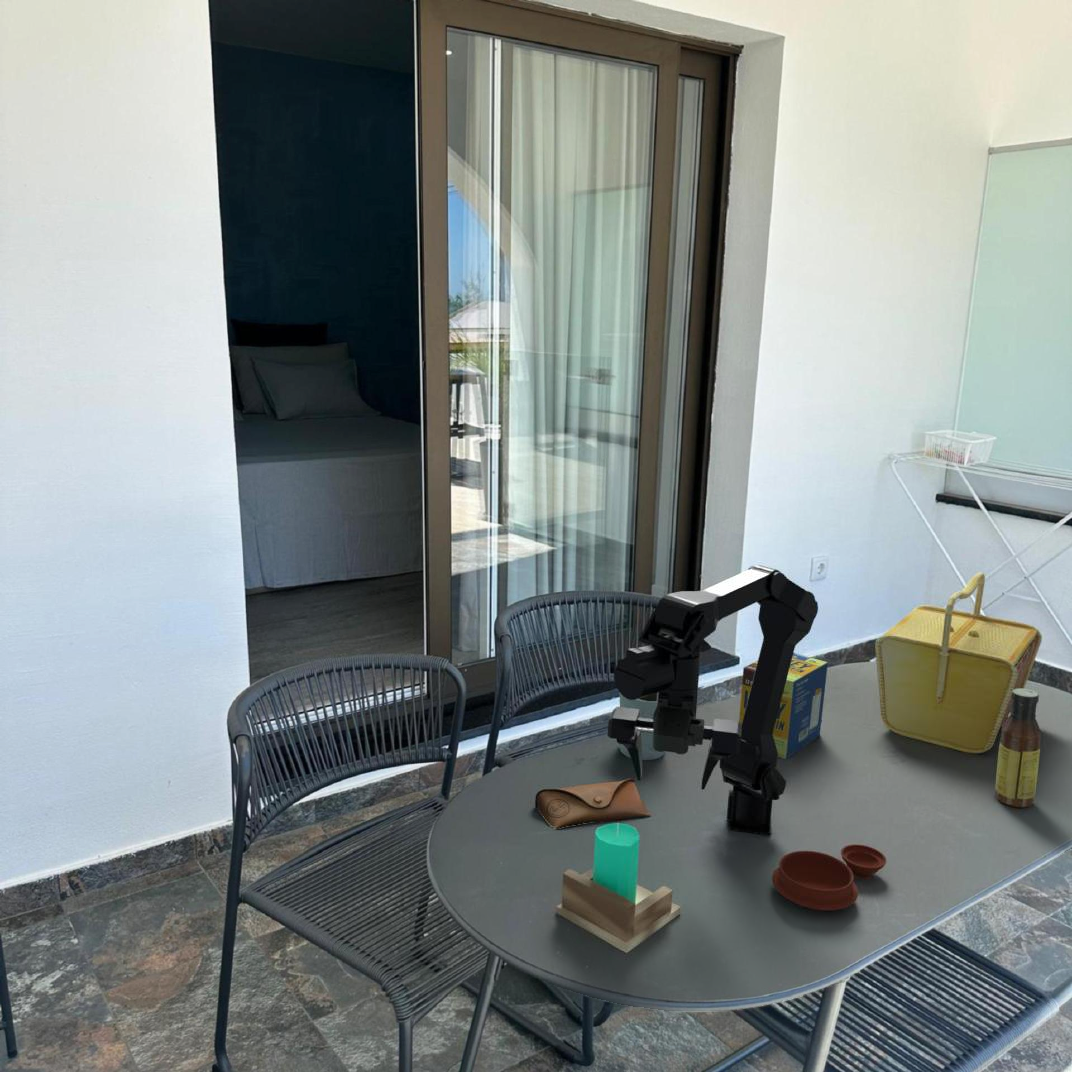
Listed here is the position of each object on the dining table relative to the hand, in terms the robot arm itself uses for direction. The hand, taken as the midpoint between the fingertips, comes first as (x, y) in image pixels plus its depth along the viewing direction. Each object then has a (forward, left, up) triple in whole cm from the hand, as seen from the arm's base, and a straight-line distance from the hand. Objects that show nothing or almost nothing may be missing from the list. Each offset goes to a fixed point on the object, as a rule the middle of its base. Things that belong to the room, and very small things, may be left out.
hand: (671, 784), depth 141 cm
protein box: (-17, -51, -13) cm, 55 cm away
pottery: (-24, -1, -13) cm, 27 cm away
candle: (+6, +13, -12) cm, 19 cm away
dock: (+5, +14, -13) cm, 20 cm away
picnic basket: (-51, -69, -13) cm, 87 cm away
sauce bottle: (-56, -37, -13) cm, 68 cm away
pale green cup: (+8, -38, -13) cm, 41 cm away
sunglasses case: (+13, -13, -14) cm, 23 cm away
